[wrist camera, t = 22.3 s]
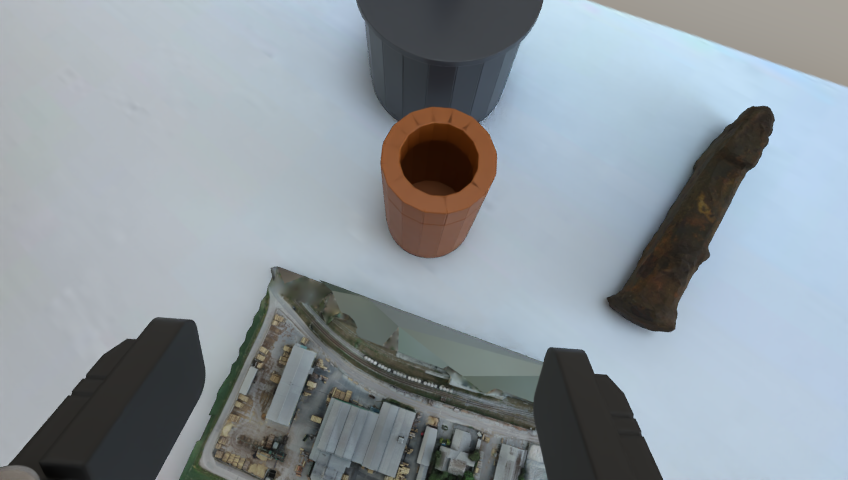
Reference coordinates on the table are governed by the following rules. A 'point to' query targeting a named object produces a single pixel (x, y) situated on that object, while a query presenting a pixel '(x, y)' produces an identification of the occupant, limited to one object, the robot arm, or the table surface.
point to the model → (366, 397)
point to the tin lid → (450, 27)
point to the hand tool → (692, 223)
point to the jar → (435, 179)
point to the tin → (435, 82)
